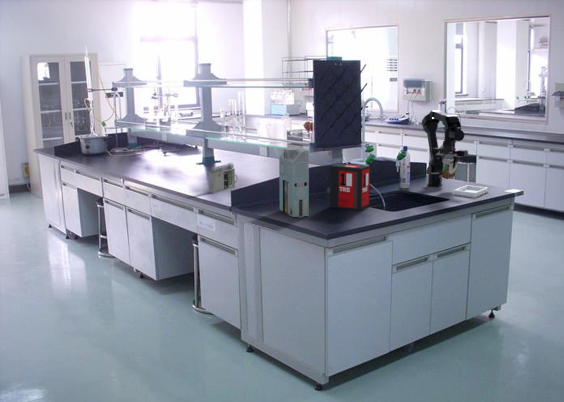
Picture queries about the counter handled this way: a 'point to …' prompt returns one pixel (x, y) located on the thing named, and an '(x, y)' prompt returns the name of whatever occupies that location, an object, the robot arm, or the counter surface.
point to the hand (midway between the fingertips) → (448, 168)
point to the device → (294, 181)
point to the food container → (448, 168)
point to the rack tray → (470, 191)
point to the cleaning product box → (349, 186)
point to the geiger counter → (222, 178)
